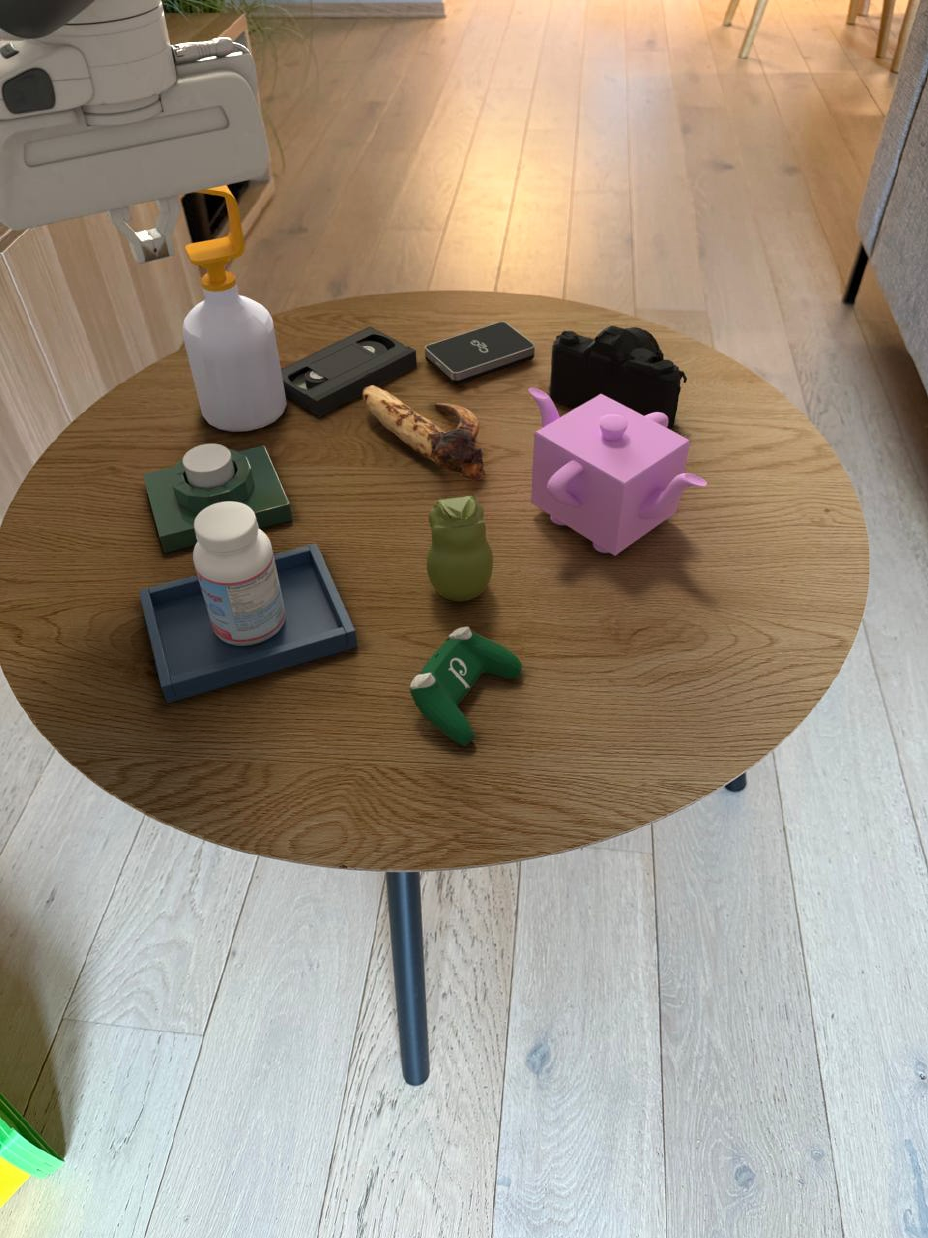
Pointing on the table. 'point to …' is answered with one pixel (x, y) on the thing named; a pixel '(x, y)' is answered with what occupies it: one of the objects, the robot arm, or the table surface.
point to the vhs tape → (346, 370)
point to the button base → (215, 496)
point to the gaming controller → (459, 679)
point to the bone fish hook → (431, 432)
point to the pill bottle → (237, 574)
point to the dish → (208, 663)
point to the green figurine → (459, 549)
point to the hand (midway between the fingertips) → (154, 257)
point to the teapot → (608, 470)
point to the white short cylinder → (208, 466)
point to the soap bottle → (231, 339)
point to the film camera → (615, 371)
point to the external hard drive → (479, 352)
